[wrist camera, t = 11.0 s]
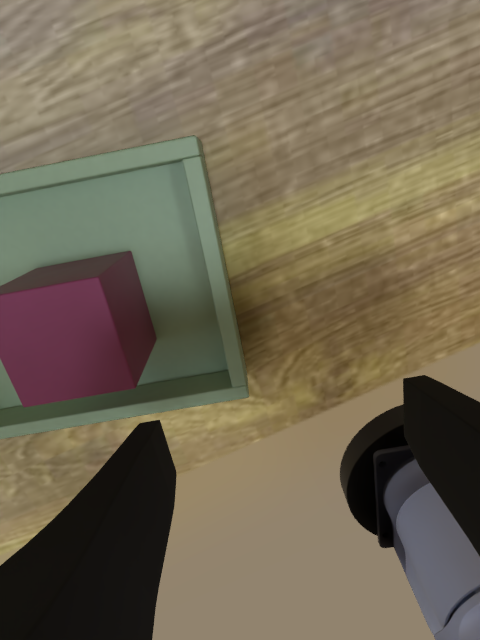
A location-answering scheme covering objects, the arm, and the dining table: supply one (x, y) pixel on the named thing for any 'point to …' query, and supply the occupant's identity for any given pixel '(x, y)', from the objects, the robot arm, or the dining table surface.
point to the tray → (152, 267)
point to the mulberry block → (75, 329)
